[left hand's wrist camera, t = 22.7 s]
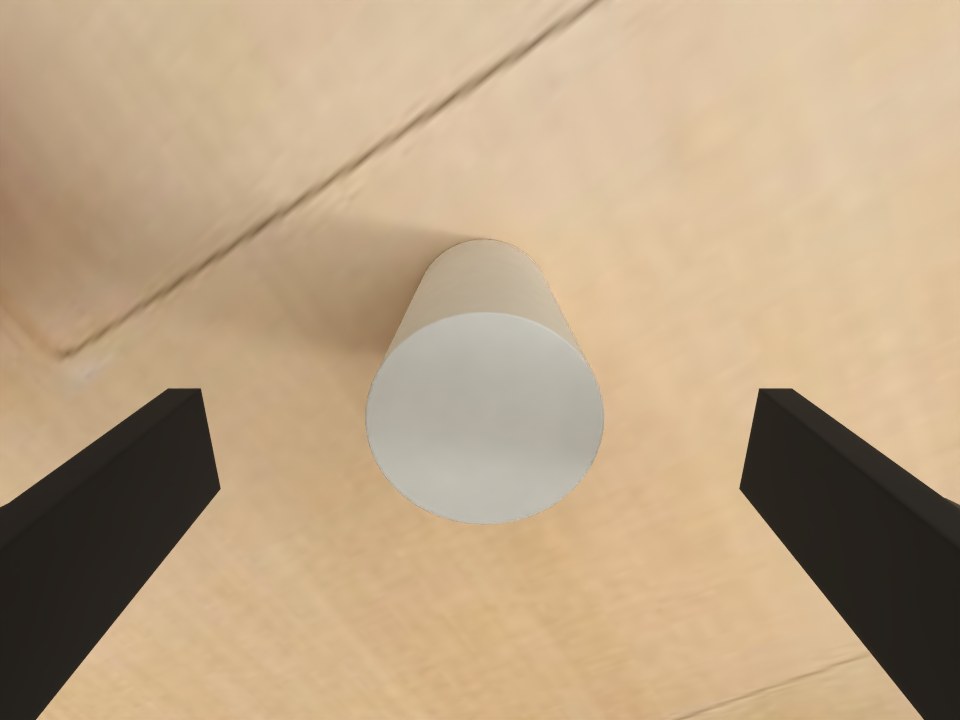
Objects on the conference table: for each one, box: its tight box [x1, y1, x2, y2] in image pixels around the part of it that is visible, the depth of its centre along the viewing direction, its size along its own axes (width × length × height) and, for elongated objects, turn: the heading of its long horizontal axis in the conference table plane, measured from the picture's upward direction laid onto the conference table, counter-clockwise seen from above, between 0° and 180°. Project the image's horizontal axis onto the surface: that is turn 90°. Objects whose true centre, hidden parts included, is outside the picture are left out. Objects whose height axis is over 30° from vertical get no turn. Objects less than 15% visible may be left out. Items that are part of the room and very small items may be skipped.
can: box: [366, 239, 604, 524], centre depth 18 cm, size 6×6×11 cm
